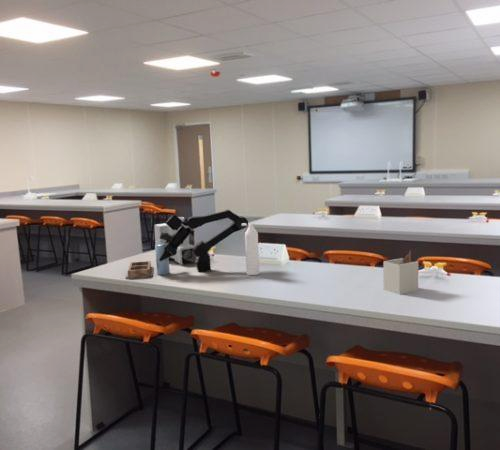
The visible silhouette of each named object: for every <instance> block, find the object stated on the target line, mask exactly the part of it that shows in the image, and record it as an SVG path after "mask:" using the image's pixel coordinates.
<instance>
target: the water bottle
mask: <svg viewBox="0 0 500 450" xmlns="http://www.w3.org/2000/svg"><path fill="white" fill-rule="evenodd" d="M246 225H247V224H246V223H242V226H246ZM244 243H245V250H244V251H245V264H246V266H245V270H246V272H245V273H246V275H248V276H257V275H259V274H260V258H259V256H260V254H259V251H260V250H259V233H258V231H257V229H255V226H254V224H253V223H248V226H247V229H246V231H245V233H244Z"/></svg>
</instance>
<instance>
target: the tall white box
mask: <svg viewBox="0 0 500 450" xmlns="http://www.w3.org/2000/svg"><path fill="white" fill-rule="evenodd" d="M411 259H412V250H411V249H409V253H408V254H407V255H406V256H405V257H404V258H402V257H400V258H395V259H389V260H384V261H383V265H382V266H383V291H387V292H389V293H393V294H397V295H403V294H407V292H408V293H411V291H412V292H416V291H419V260H417V261H412V260H411ZM404 262H405V263H404ZM415 290H416V291H415Z"/></svg>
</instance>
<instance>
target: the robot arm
mask: <svg viewBox="0 0 500 450" xmlns="http://www.w3.org/2000/svg"><path fill="white" fill-rule="evenodd" d="M178 217H179V216H178V215H177V214H176V213H173V215H172V216H171V217H169V218H168V219H167V220H166V222H165V224H167V225H168V226H169V227H170V228H171V229H172V230H173V231H174V230H178V229H179V228H180V227H181V226H182V227H181V228H180V229H179V230H178V231H177V233H176V234H173V235H170V234H168V233H166V232H162V233H161V235H160V239H164V240H166V241H165V243H167V245H166V246H165V247H164V250H165V251H164V253H163V254H162V256H161V257H160V259H159V260H160V261H162V260H164V259H167V258H169V257H171V256H173V255H174V256H175V254H176V253H177V249H178V247H179V246H180V245H181V244H182V243H183V241H184V240H185V239H186V238H187V237H188V236H189V237H190V235H191V236H192V237H194V236H195V229H197V228H199V227H202V226H204V225H205V224H206V225H207V224H208V223H213V222H217V221H221V220H225V219H229V220H231V221H232V222H231V223H230V224H229V225H228V226H227V227H225V228H224V229H223V230H221V231H220V232H218V233H217V234H216V235H214V236H212V237H211V238H209V239H208V240H205V241H204V240H203V239H201V240H200V241H199V242H197V243H195V245H196V246H195V245H194V246H195V247H194V253H195V255H196V256H197V257H198V261H197V263H196V269H197V271H198V272H199V273H201V272H212V268H211V255H210V254H209V251H210V250H212V248H213V247H215V246H216V245H218V244H219V243H220V242H221V241H223V240H225V239H226V238H228V237H230V236H231V235H232V234H234V233H236V232H239V231H241V230H244V229H246V228H248V227H249V220H248V219H247V218H246V217H245V216H241V215H237V214H235V213H234V212H232V211H231V210H230V209H225V210H222V211H218V212H214V213H211V214H207V215H206V214H205V215H193V216H189V217H188V219H184V220H181V219H180V218H178ZM242 223H246V224H247V225H246V226H242ZM182 224H183V225H184V226H189V228H188V227H184V226H183V225H182ZM165 243H164V244H165Z"/></svg>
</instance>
